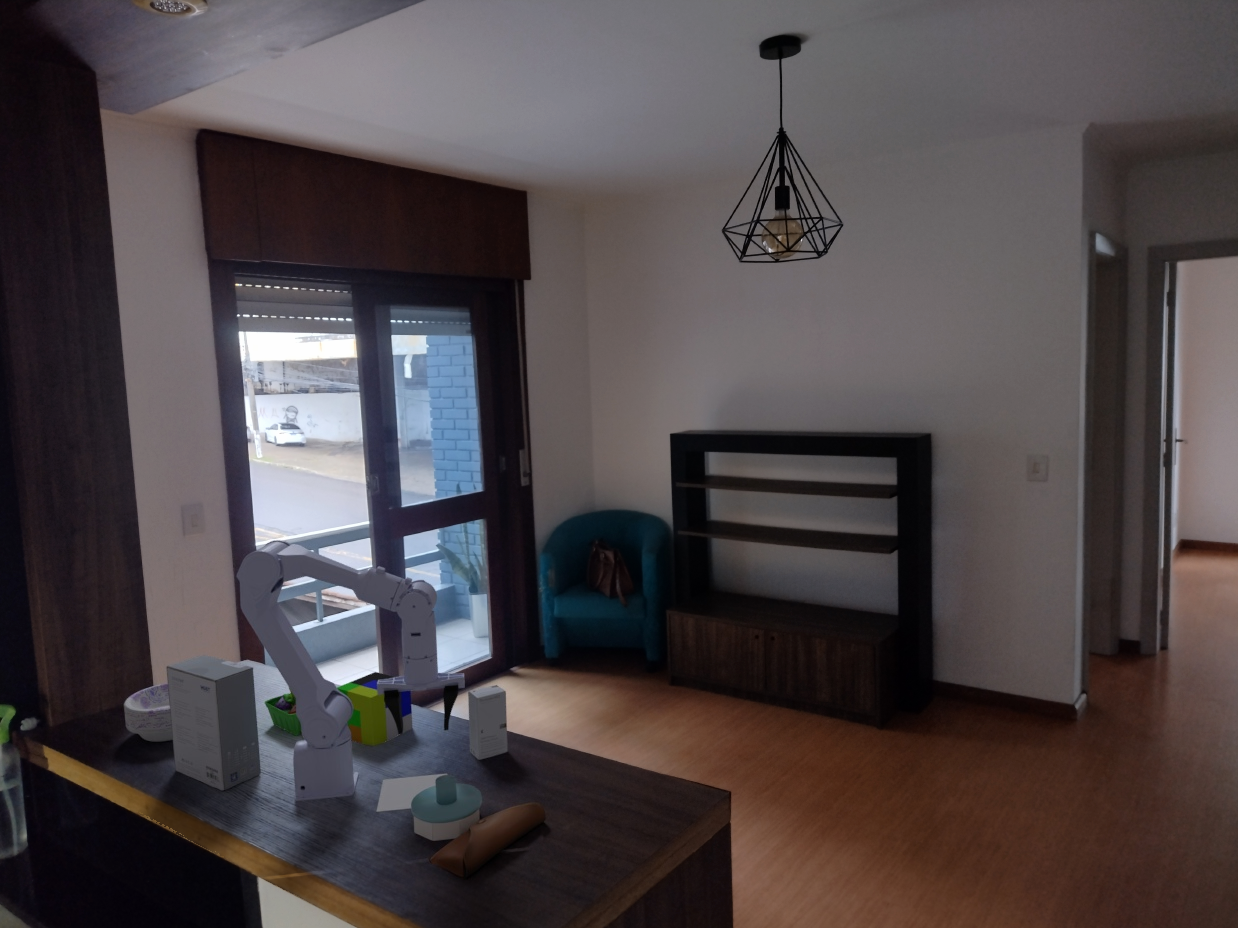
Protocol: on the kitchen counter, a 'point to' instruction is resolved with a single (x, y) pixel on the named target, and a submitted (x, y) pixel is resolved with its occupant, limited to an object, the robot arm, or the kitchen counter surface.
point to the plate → (403, 791)
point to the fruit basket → (284, 713)
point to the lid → (446, 801)
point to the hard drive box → (214, 720)
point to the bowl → (444, 828)
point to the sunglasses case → (488, 838)
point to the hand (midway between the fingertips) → (423, 729)
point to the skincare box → (487, 721)
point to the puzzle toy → (374, 711)
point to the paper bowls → (149, 713)
